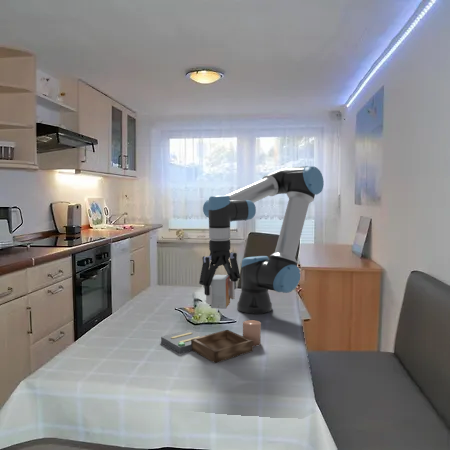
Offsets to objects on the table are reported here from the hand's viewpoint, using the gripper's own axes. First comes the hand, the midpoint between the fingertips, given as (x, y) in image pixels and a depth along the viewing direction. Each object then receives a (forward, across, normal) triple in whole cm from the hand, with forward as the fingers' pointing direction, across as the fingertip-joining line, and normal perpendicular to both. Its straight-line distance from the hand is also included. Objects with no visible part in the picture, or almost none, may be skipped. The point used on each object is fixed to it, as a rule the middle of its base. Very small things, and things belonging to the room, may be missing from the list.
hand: (220, 301), depth 146 cm
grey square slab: (+11, +16, +1) cm, 20 cm away
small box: (+2, 0, 0) cm, 2 cm away
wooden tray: (+11, +10, +13) cm, 20 cm away
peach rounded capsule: (+12, -2, +14) cm, 18 cm away
